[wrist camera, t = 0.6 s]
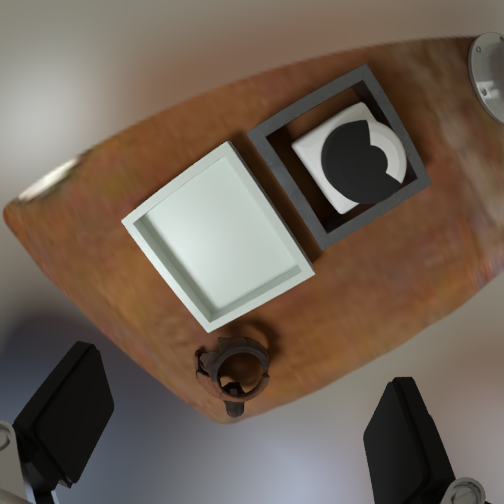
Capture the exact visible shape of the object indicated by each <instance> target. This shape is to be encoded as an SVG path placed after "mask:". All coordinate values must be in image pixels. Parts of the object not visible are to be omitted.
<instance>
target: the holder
mask: <svg viewBox="0 0 504 504" xmlns="http://www.w3.org/2000/svg"><path fill="white" fill-rule="evenodd" d="M350 87H352V88H353V90H354V91H355V93H356V95H357V96H358V98H359V99H360V101H361V102H362V103H364V104H365V105H366V106H367V108H368V109H369V111H370V112H371V114H372V115H373V117H374V118H375V120H376V122H379V123H381V124H384V125H385V126H387V127H388V128H390V129H391V130H392V131H393V132H394V133H395V134H396V135H397V137H398V138H399V139H400V141H401V143H402V145H403V147H404V150H405V154H406V172H405V176H404V179H403V181H402V184H401V185H400V187H399V188H398V190H397V191H396V192H395V193H394V194H393V195H392V196H391V197H389V198H388V199H386V200H384V201H382V202H379V203H375V204H358V205H356V206H355V207H353V208H352V209H350V210H349V211H347V212H346V213H344V214H340V213H339V212H336V213H334V214H333V215H331V216H329V217H328V218H326V219H325V220H323V221H321V222H320V220H319V219H318V217H317V216H316V214H315V212H314V211H313V209H312V207H311V206H310V204H309V203H308V201H307V199H306V198H305V196H304V195H303V193H302V191H301V190H300V188H299V187H298V185H297V184H296V182H295V180H294V179H293V177H292V176H291V174H290V173H289V171H288V170H287V168H286V167H285V165H284V163H283V162H282V160H281V159H280V157H279V156H278V154H277V153H276V151H275V150H274V148H273V147H272V145H271V144H270V143H269V141H268V140H267V138H266V137H267V136H269V135H270V134H272V133H274V132H275V131H277V130H278V129H280V128H282V127H283V126H285V125H286V124H288V123H290V122H291V121H293V120H295V119H296V118H298V117H300V116H301V115H303V114H305V113H306V112H308V111H310V110H311V109H313V108H315V107H316V106H318V105H320V104H322V103H323V102H325V101H327V100H329V99H330V98H332V97H334V96H336V95H337V94H339V93H341V92H343V91H345V90H346V89H348V88H350ZM246 134H247V136H248V137H249V139H250V140H251V141H252V143H253V144H254V146H255V147H256V149H257V150H258V152H259V153H260V155H261V156H262V158H263V159H264V161H265V162H266V163H267V165H268V166H269V168H270V169H271V171H272V172H273V174H274V175H275V177H276V178H277V180H278V182H279V183H280V185H281V186H282V188H283V189H284V191H285V192H286V194H287V195H288V197H289V198H290V200H291V202H292V203H293V205H294V206H295V208H296V209H297V211H298V212H299V214H300V216H301V217H302V219H303V220H304V222H305V224H306V225H307V227H308V228H309V230H310V232H311V233H312V235H313V236H314V238H315V240H316V241H317V243H318V245H319V246H320V248H321V249H322V251H323V250H325V249H327V248H328V247H330V246H332V245H333V244H335V243H337V242H338V241H340V240H342V239H343V238H345V237H347V236H348V235H350V234H352V233H353V232H355V231H357V230H358V229H360V228H361V227H363V226H365V225H366V224H368V223H370V222H371V221H373V220H375V219H376V218H378V217H379V216H381V215H383V214H384V213H386V212H387V211H389V210H391V209H392V208H394V207H395V206H397V205H399V204H400V203H402V202H403V201H405V200H407V199H408V198H410V197H411V196H413V195H415V194H416V193H418V192H419V191H421V190H422V189H424V188H426V187H427V186H429V185H430V184H432V182H431V180H430V178H429V176H428V173H427V171H426V169H425V167H424V165H423V163H422V161H421V158H420V156H419V154H418V152H417V150H416V148H415V146H414V144H413V142H412V140H411V138H410V137H409V135H408V133H407V131H406V129H405V127H404V125H403V123H402V122H401V120H400V118H399V116H398V114H397V113H396V111H395V109H394V107H393V106H392V104H391V102H390V101H389V99H388V97H387V96H386V94H385V92H384V91H383V89H382V87H381V86H380V84H379V83H378V81H377V80H376V78H375V76H374V75H373V73H372V72H371V70H370V69H369V67H368V66H367V64H364V65H362V66H360V67H358V68H356V69H354V70H352V71H350V72H348V73H347V74H345V75H343V76H341V77H339V78H337V79H335V80H334V81H332V82H330V83H328V84H326V85H325V86H323V87H321V88H319V89H317V90H316V91H314V92H312V93H310V94H309V95H307V96H305V97H304V98H302V99H300V100H298V101H297V102H295V103H293V104H292V105H290V106H288V107H287V108H285V109H283V110H282V111H280V112H279V113H277V114H275V115H274V116H272V117H271V118H269V119H267V120H266V121H264V122H263V123H261V124H259V125H258V126H256V127H255V128H253V129H252V130H250V131H249V132H247V133H246Z"/></svg>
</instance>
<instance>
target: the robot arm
mask: <svg viewBox="0 0 504 504" xmlns="http://www.w3.org/2000/svg"><path fill="white" fill-rule="evenodd" d="M468 69H469V75H470V79H471V82H472V85H473V88H474V91H475V93H476V95H477V97H478V99H479V101H480V102H481V104H482V106H483V107H484V108H485V110H486V111H487V112H488V114H490V115H491V116H492V117H493V118H494V119H495V120H496V121H498V122H499V123H500V124H503V125H504V35H501V34H499V33H495V32H489V33H484V34H482V35H479V36H478V37H477V38H475V39H474V41H473V42H472V44H471V46H470V49H469V54H468ZM113 410H114V402H113V398H112V395H111V392H110V388H109V385H108V381H107V378H106V374H105V371H104V367H103V363H102V359H101V355H100V352H99V350H97V349H96V347H95V346H94V344H90V343H85V342H82V341H77V342H76V343H75V344H74V345H73V347H72V348H71V349H70V350H69V351H68V353H67V354H66V355H65V356H64V357H63V359H62V360H61V361H60V363H59V364H58V365H57V366H56V367H55V368H54V370H53V371H52V372H51V373H50V375H49V376H48V377H47V379H46V380H45V381H44V382H43V384H42V385H41V386H40V387H39V389H38V390H37V391H36V393H35V394H34V395H33V397H32V398H31V399H30V401H29V402H28V403H27V404H26V406H25V407H24V408H23V410H22V411H21V413H20V414H19V415H18V417H17V418H16V419H15V421H14V424H13V425H12V426H11V425H10V424H9V423H7V422H5V421H2V420H0V504H59V502H58V499H57V495H56V493H55V488H56V486H57V484H61V485H63V486H65V487H67V488H69V489H70V488H71V486H72V484H73V483H76V482H78V480H79V478H80V476H81V474H82V472H83V470H84V468H85V466H86V464H87V462H88V460H89V458H90V456H91V454H92V452H93V450H94V448H95V446H96V444H97V442H98V440H99V438H100V436H101V434H102V432H103V430H104V428H105V427H106V424H107V423H108V420H109V419H110V417H111V415H112V413H113ZM363 440H364V446H365V451H366V456H367V462H368V466H369V472H370V477H371V483H372V489H373V495H374V501H375V504H491V503H489V502H486V501H485V498H486V497H485V491H484V489H483V487H482V485H481V484H480V483H479V482H478V481H476V480H474V479H472V478H468V477H464V478H459V479H456V478H455V476H454V473H453V470H452V467H451V464H450V462H449V459H448V456H447V454H446V451H445V448H444V446H443V443H442V441H441V438H440V436H439V433H438V431H437V428H436V426H435V423H434V421H433V419H432V417H431V415H429V413H428V411H427V408H426V406H425V404H424V401H423V399H422V397H421V394H420V392H419V390H418V388H417V386H416V383H415V381H414V379H413V378H412V377H395V378H394V379H393V381H392V382H389V383H388V384H387V386H386V388H385V391H384V393H383V395H382V397H381V399H380V401H379V404H378V406H377V408H376V410H375V412H374V414H373V416H372V418H371V420H370V422H369V424H368V426H367V428H366V430H365V432H364V437H363Z"/></svg>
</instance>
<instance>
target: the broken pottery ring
mask: <svg viewBox="0 0 504 504" xmlns="http://www.w3.org/2000/svg"><path fill="white" fill-rule="evenodd" d="M218 342H219V352H214V351H212V352H208V353H203V354H202V355H201V357H200V360H201V362H202V363H203V365H204V367H205V369H206V370H207V372H208V373H207V372H206V371H205V370H203V368H202V367H201V366H200V363H199V359H198V352H197V351H196V352H195V355H194V366H195V370H196V377H197V379H198V381H199V383H200V384H201V386H202V387H203V388H204V389H205V390H206V391H207V392H208V393H209V394H211V395H212V396H214V397H217V398H219V399H221V400H223V401H224V403H225V405H226V410H227V414H228V415H229V416H230V417H233V418H235V417H238V416H241V415H242V414H243V412H244V402H245V401H248V400H251V399H252V398H254V397H256V396H257V395H259V394H260V393H261V392H262V391H263V390H264V389H265V387H266V386H267V384H268V381H269V378H270V376H269V375H268V370H269V366H270V360H269V355H268V352H267V350H266V349H265V347H264V346H262V345H261V344H260V343H259V342H257V341H255V340H253V339H251V338H249V337H247V338H245V339H244V338H243V337H236V338H222V337H218ZM240 352H247V353H251V354H253V355H255V356H256V357H257V358H258V359H259V360H260V361H261V363H262V366H263V374H262V377H261V379H260V381H259V383H258V384H257V386H256V387H255V388H253V389H252V390H251V391H249V392H247V393H245V392H244V391H243V389H242V387H241V386H240V383H239V382H229V383H228V384H227V385H225V386H224V387H222V386H221V382H220V376H218V370H219V368H220V366H221V364H222V363H223V362H224V360H225V359H226V358H227V357H229V356H231V355H233V354H236V353H240Z"/></svg>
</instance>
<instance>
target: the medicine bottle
mask: <svg viewBox="0 0 504 504" xmlns="http://www.w3.org/2000/svg"><path fill="white" fill-rule="evenodd" d="M291 147H292V149H293V150H294V151H295V153H296V154H297V156H298V157H299V158H300V160H301V161H302V163H303V164H304V166H305V167H306V169H307V170H308V171H309V173H310V174H311V176H312V177H313V179H314V180H315V182H316V183H317V185H318V186H319V188H320V189H321V191H322V192H323V194H324V195H325V197H326V198H327V199H328V201H329V202H330V203H331V204H332V205H333V206H334V208H335V209H336V210H337V211H338V212H339V213H340V214H344V213H346V212H347V211H349V210H350V209H352V208H353V207H355V206H356V205H358V204H375V203H379V202H382V201H384V200H386V199H388V198H389V197H391V196H392V195H393V194H394V193H395V192H396V191H397V190H398V188H399V187H400V185H401V184H402V181H403V179H404V176H405V172H406V154H405V150H404V147H403V145H402V143H401V141H400V139H399V138H398V137H397V135H396V134H395V133H394V132H393V131H392V130H391V129H390V128H388V127H387V126H385V125H384V124H381V123H379V122H376V120H375V118H374V117H373V115H372V114H371V112H370V111H369V109H368V108H367V106H366V105H365V104H364V103H362V102H361V103H358V104H355V105H353V106H350V107H348V108H345V109H343V110H341V111H340V112H338V113H336V114H335V115H333V116H332V117H330V118H329V119H327V120H325V121H324V122H322V123H321V124H319V125H318V126H316V127H315V128H313V129H312V130H310V131H309V132H307V133H305V134H304V135H302V136H301V137H299V138H298V139H296V140H295V141H293V142H292V143H291Z"/></svg>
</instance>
